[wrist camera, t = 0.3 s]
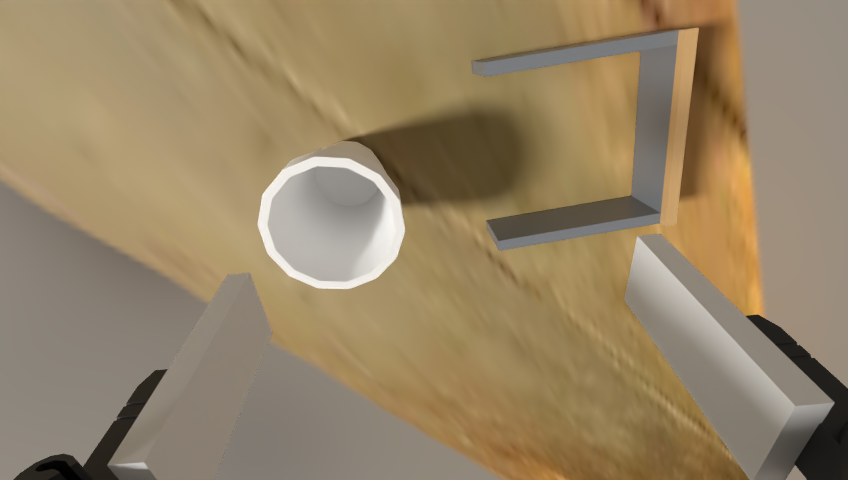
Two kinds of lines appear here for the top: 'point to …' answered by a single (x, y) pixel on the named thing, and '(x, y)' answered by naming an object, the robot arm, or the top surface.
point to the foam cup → (333, 217)
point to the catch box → (654, 139)
